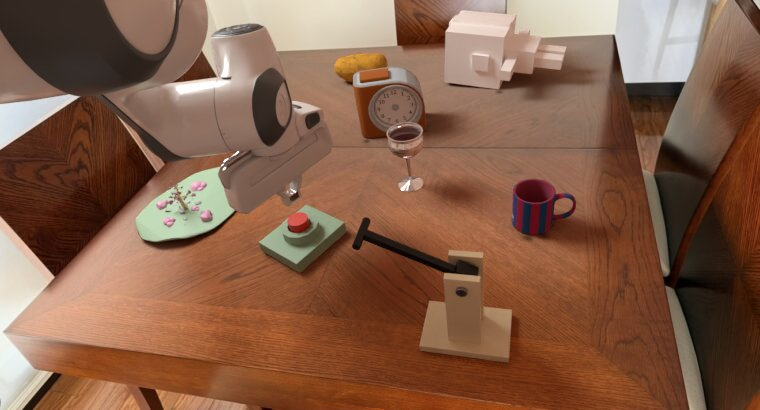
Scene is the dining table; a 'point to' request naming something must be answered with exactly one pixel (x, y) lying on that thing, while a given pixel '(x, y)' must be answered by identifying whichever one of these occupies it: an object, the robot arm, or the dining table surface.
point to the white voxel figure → (493, 50)
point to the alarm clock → (387, 100)
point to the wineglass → (406, 150)
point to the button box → (303, 239)
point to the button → (298, 222)
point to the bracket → (466, 317)
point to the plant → (186, 209)
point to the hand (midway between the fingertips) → (292, 200)
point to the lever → (410, 252)
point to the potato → (358, 64)
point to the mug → (536, 206)
